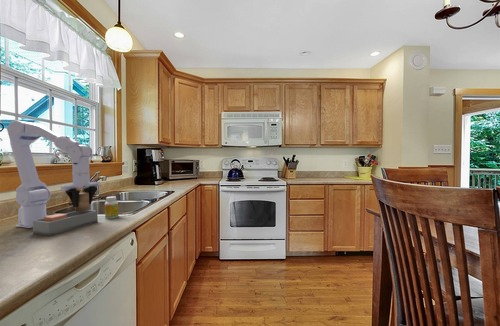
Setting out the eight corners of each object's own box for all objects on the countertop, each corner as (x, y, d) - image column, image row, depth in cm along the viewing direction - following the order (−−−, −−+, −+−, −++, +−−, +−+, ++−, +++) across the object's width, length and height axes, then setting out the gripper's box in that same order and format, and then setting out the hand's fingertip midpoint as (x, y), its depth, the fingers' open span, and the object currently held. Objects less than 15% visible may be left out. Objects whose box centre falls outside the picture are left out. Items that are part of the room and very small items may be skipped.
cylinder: (72, 210, 93) (71, 194, 93) (84, 208, 97) (83, 192, 97) (80, 211, 91) (80, 194, 91) (92, 209, 96) (91, 192, 96)
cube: (44, 229, 85) (43, 216, 85) (59, 225, 90) (58, 213, 90) (53, 230, 84) (52, 217, 84) (67, 226, 89) (67, 214, 88)
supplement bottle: (112, 219, 102) (111, 198, 102) (102, 218, 103) (101, 198, 103) (121, 216, 108) (120, 196, 107) (111, 215, 109) (110, 195, 108)
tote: (33, 233, 84) (32, 220, 84) (83, 220, 101) (82, 209, 101) (49, 236, 81) (48, 222, 81) (97, 221, 98) (97, 210, 98)
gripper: (68, 175, 86) (70, 210, 86) (104, 172, 99) (105, 202, 100) (56, 174, 88) (58, 208, 88) (93, 172, 102) (94, 201, 102)
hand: (82, 205), depth 94 cm, fingers closed on cylinder, 5 cm apart
